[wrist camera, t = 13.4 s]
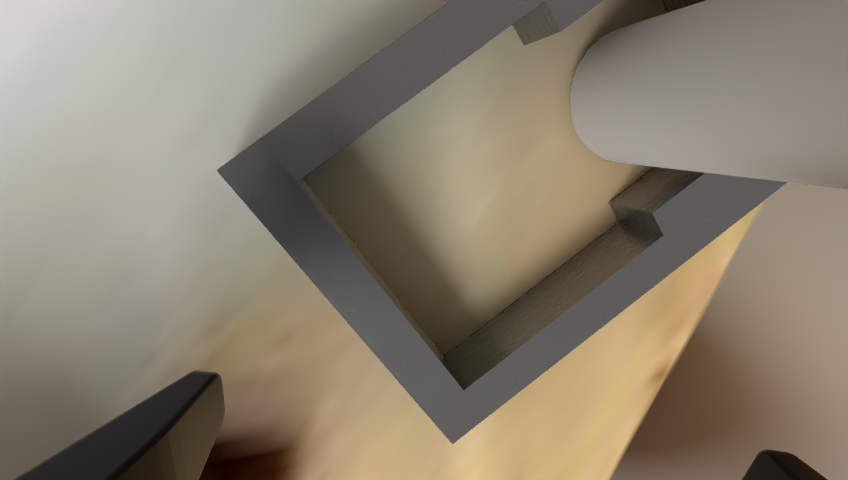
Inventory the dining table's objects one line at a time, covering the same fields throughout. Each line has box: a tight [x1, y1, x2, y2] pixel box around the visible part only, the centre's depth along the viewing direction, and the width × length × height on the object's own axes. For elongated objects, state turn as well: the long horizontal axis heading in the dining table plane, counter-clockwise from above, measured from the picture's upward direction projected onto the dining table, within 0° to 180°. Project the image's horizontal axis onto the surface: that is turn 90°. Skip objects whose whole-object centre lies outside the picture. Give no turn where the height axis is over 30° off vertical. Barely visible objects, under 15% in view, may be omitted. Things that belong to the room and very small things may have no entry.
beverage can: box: [569, 0, 848, 189], centre depth 12 cm, size 5×5×12 cm
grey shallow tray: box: [217, 0, 787, 444], centre depth 15 cm, size 18×12×4 cm
